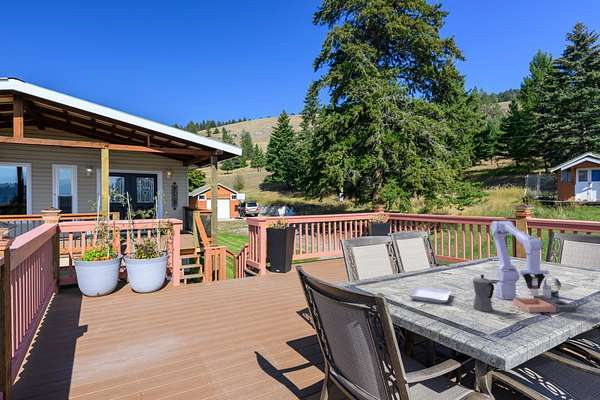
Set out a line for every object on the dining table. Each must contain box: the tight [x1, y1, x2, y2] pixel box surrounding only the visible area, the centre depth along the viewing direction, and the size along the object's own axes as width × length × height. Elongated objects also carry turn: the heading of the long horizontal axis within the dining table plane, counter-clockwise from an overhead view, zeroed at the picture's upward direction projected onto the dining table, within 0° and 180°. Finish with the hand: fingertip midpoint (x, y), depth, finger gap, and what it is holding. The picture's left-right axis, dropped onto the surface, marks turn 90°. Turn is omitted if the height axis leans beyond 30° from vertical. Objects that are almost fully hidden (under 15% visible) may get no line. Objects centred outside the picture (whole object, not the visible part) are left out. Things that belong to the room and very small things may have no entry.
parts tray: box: [512, 298, 557, 314], centre depth 178 cm, size 13×13×3 cm
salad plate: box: [407, 286, 453, 304], centre depth 200 cm, size 21×21×3 cm
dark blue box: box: [543, 276, 562, 299], centre depth 197 cm, size 6×8×11 cm
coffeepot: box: [472, 274, 495, 313], centre depth 178 cm, size 15×9×18 cm, turn 6°
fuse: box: [542, 284, 552, 299], centre depth 187 cm, size 4×4×9 cm
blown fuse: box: [528, 276, 539, 297], centre depth 178 cm, size 4×4×9 cm
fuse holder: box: [533, 294, 577, 313], centre depth 182 cm, size 8×20×2 cm, turn 179°
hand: (533, 288), depth 178 cm, fingers closed on blown fuse, 4 cm apart
